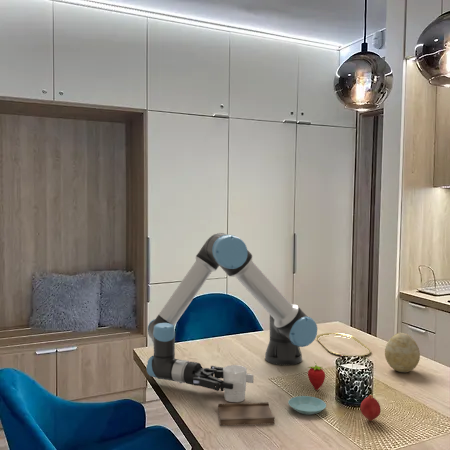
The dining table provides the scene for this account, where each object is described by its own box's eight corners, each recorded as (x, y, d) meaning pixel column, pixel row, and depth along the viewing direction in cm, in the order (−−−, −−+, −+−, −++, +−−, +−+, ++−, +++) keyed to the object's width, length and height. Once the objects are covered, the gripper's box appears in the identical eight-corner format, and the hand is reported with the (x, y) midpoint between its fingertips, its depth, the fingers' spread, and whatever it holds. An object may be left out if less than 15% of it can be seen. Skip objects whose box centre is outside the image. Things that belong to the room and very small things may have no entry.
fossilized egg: (382, 374, 183) (383, 335, 182) (386, 363, 195) (387, 327, 194) (418, 379, 178) (419, 339, 177) (420, 368, 189) (421, 331, 188)
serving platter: (334, 359, 201) (334, 356, 201) (311, 336, 236) (311, 333, 236) (377, 358, 203) (377, 355, 203) (348, 335, 238) (348, 332, 237)
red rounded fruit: (357, 416, 147) (357, 390, 147) (375, 415, 147) (376, 390, 147) (364, 425, 141) (364, 398, 141) (383, 424, 142) (384, 398, 141)
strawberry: (310, 394, 163) (310, 365, 163) (305, 386, 171) (305, 358, 170) (327, 394, 164) (328, 365, 163) (321, 385, 171) (322, 358, 171)
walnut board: (268, 407, 153) (268, 402, 153) (274, 423, 142) (274, 417, 142) (218, 409, 152) (218, 403, 152) (220, 425, 141) (220, 419, 141)
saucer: (299, 399, 160) (299, 392, 160) (332, 408, 153) (332, 401, 153) (281, 411, 151) (281, 404, 151) (315, 422, 144) (315, 414, 144)
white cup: (244, 404, 156) (244, 373, 155) (220, 402, 157) (220, 372, 157) (248, 394, 163) (248, 365, 163) (225, 392, 165) (225, 364, 164)
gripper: (201, 373, 177) (259, 383, 167) (172, 393, 159) (235, 406, 149) (201, 353, 177) (259, 362, 167) (172, 371, 158) (235, 382, 148)
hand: (248, 383), depth 158 cm, fingers closed on white cup, 7 cm apart
